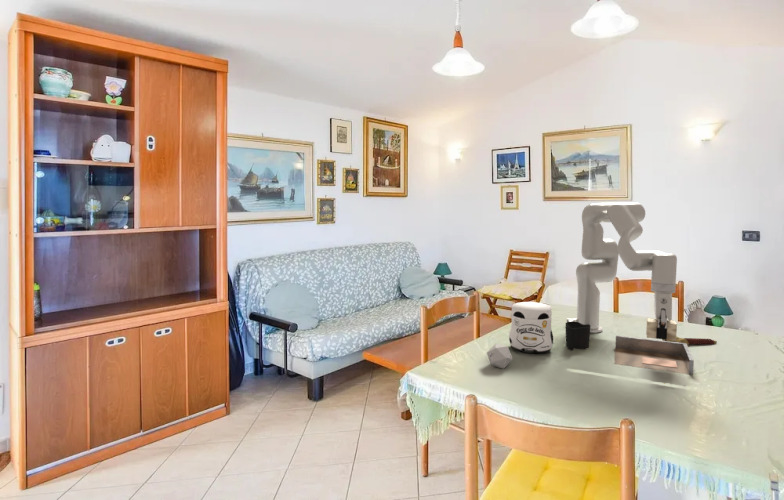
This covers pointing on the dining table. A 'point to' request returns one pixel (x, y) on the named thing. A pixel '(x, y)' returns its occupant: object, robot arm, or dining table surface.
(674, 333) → the maple block
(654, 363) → the walnut board
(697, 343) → the gavel
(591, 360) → the dining table surface
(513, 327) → the milk container
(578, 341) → the pen holder
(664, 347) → the metal walls
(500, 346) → the die
